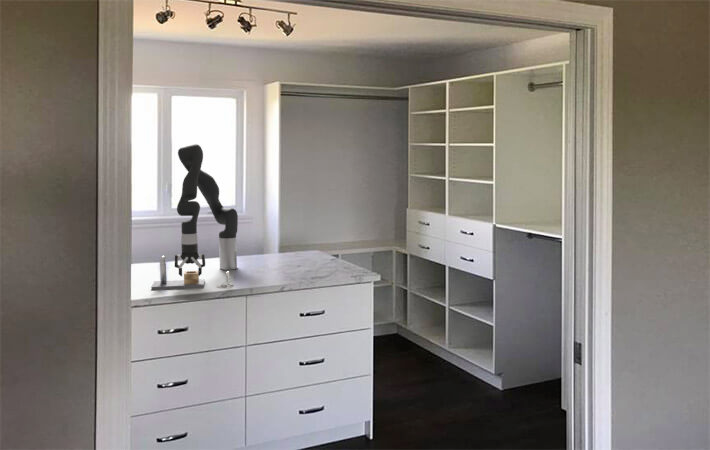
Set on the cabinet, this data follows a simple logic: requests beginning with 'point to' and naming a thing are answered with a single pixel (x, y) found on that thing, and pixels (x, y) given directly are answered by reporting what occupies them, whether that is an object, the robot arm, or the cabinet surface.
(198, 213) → the robot arm
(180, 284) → the lacing board
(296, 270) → the cabinet surface
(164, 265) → the steel needle
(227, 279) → the stand
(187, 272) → the oak bead
